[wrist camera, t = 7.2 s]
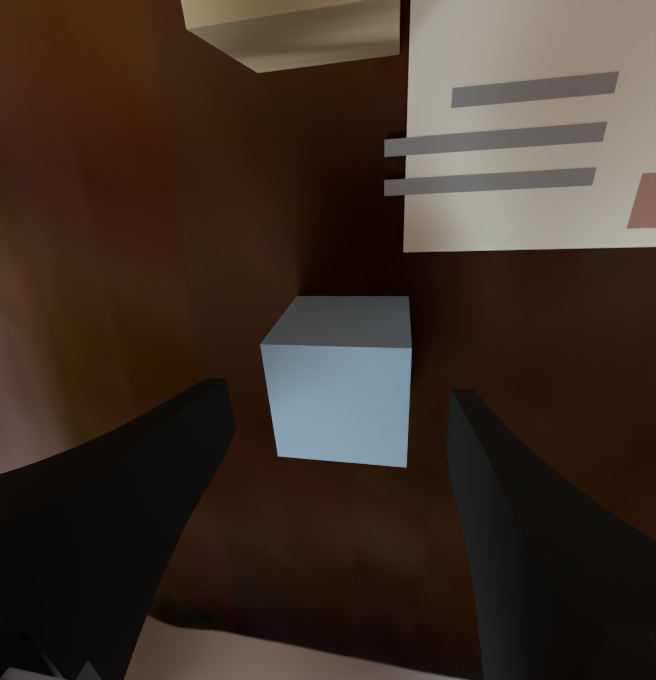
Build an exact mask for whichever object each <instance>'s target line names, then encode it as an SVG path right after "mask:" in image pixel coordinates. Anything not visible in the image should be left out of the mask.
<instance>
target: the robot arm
mask: <svg viewBox="0 0 656 680" xmlns="http://www.w3.org/2000/svg"><path fill="white" fill-rule="evenodd" d="M235 430H236V425H235V421H234V416H233V411H232V407H231V402H230V398H229V393H228V389H227V384H226V379H212V378H208V379H206V380H204V381H202V382H200V383H198V384H196V385H194V386H192V387H191V388H189V389H187V390H185V391H184V392H182V393H180V394H178V395H177V396H175V397H173V398H171V399H170V400H168V401H166V402H165V403H163V404H161V405H159V406H158V407H156V408H154V409H152V410H151V411H149V412H147V413H145V414H143V415H141V416H139V417H137V418H136V419H134V420H132V421H130V422H128V423H126V424H124V425H123V426H121V427H119V428H117V429H115V430H113V431H111V432H108V433H106V434H104V435H102V436H100V437H98V438H95V439H93V440H91V441H89V442H86V443H84V444H82V445H80V446H77V447H75V448H72V449H70V450H67V451H64V452H62V453H59V454H57V455H54V456H51V457H49V458H46V459H44V460H41V461H38V462H36V463H33V464H30V465H27V466H24V467H21V468H18V469H15V470H12V471H9V472H6V473H2V474H0V680H124V677H125V674H126V672H127V669H128V666H129V663H130V660H131V657H132V654H133V652H134V649H135V646H136V643H137V640H138V637H139V635H140V632H141V629H142V627H143V624H144V622H145V619H146V617H147V614H148V611H149V609H150V606H151V604H152V601H153V598H154V596H155V593H156V591H157V589H158V586H159V584H160V581H161V579H162V577H163V574H164V572H165V570H166V567H167V565H168V562H169V560H170V558H171V556H172V553H173V551H174V549H175V547H176V545H177V542H178V540H179V538H180V536H181V534H182V531H183V529H184V527H185V525H186V523H187V522H188V520H189V518H190V516H191V514H192V512H193V511H194V509H195V507H196V505H197V504H198V502H199V500H200V498H201V497H202V495H203V493H204V492H205V490H206V488H207V486H208V485H209V483H210V481H211V479H212V478H213V476H214V474H215V473H216V471H217V469H218V467H219V465H220V464H221V462H222V460H223V458H224V456H225V455H226V452H227V450H228V448H229V445H230V443H231V440H232V438H233V435H234V432H235ZM446 446H447V456H448V465H449V473H450V478H451V482H452V487H453V491H454V496H455V500H456V504H457V508H458V513H459V517H460V521H461V525H462V530H463V534H464V538H465V542H466V547H467V552H468V557H469V562H470V569H471V576H472V583H473V591H474V598H475V605H476V613H477V621H478V629H479V637H480V645H481V654H482V663H483V671H484V680H656V540H654V539H652V538H650V537H649V536H647V535H646V534H644V533H642V532H641V531H639V530H638V529H636V528H635V527H633V526H631V525H630V524H628V523H627V522H625V521H624V520H622V519H621V518H619V517H618V516H616V515H615V514H613V513H612V512H610V511H609V510H607V509H606V508H604V507H603V506H601V505H600V504H599V503H597V502H596V501H594V500H593V499H591V498H590V497H589V496H587V495H586V494H584V493H583V492H582V491H580V490H579V489H578V488H576V487H575V486H574V485H573V484H571V483H570V482H569V481H567V480H566V479H565V478H564V477H562V476H561V475H560V474H559V473H557V472H556V471H555V470H553V469H552V468H551V467H550V466H549V465H548V464H546V463H545V462H544V461H543V460H542V459H541V458H540V457H538V456H537V455H536V454H535V453H534V452H533V451H532V450H531V449H530V448H528V447H527V446H526V445H525V444H524V443H523V442H522V441H521V440H520V439H519V438H518V437H517V436H516V435H515V434H514V433H513V432H512V431H511V430H510V429H509V428H508V427H507V426H506V425H505V424H504V423H503V422H502V420H501V419H500V418H499V417H498V416H497V415H496V414H495V413H494V412H493V411H492V410H491V408H490V407H489V406H488V405H487V404H486V403H485V402H484V400H483V399H482V398H481V397H480V396H479V395H478V394H477V393H476V392H475V391H474V390H473V389H452V391H451V401H450V410H449V420H448V429H447V439H446Z"/></svg>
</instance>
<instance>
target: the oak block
mask: <svg viewBox="0 0 656 680" xmlns="http://www.w3.org/2000/svg"><path fill="white" fill-rule="evenodd" d="M181 3H182V8H183V14H184V19H185V24H186V29H187V30H189V31H190V32H192V33H193V34H195V35H197V36H198V37H200V38H202V39H203V40H205V41H206V42H208V43H210V44H211V45H213V46H215V47H216V48H218V49H219V50H221V51H223V52H224V53H226V54H228V55H229V56H231V57H232V58H234V59H236V60H237V61H239V62H241V63H242V64H244V65H246V66H247V67H249V68H250V69H252V70H254V71H255V72H257V73H262V72H269V71H277V70H285V69H292V68H300V67H308V66H316V65H323V64H331V63H339V62H346V61H354V60H362V59H370V58H377V57H385V56H393V55H399V54H400V0H181Z"/></svg>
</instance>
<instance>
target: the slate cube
mask: <svg viewBox="0 0 656 680" xmlns="http://www.w3.org/2000/svg"><path fill="white" fill-rule="evenodd" d="M260 346H261V352H262V358H263V365H264V371H265V377H266V383H267V389H268V396H269V402H270V408H271V414H272V421H273V427H274V433H275V439H276V446H277V452H278V456H281V457H293V458H304V459H316V460H327V461H339V462H350V463H362V464H373V465H385V466H396V467H406V465H407V443H408V421H409V399H410V377H411V355H412V344H411V327H410V311H409V296H297V297H296V298H295V299H294V301H293V302H292V303H291V305H290V306H289V307H288V309H287V310H286V311H285V312H284V314H283V315H282V316H281V318H280V319H279V320H278V322H277V323H276V324H275V326H274V327H273V328H272V330H271V331H270V332H269V334H268V335H267V336H266V338H265V339H264V340H263V341H262V343H261V344H260Z"/></svg>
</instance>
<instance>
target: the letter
mask: <svg viewBox="0 0 656 680" xmlns="http://www.w3.org/2000/svg"><path fill="white" fill-rule="evenodd" d="M391 156H406V176H405V179H395V180H384V196H395V195H405V210H404V245H403V252H441V251H486V250H531V249H576V248H620V247H656V0H411V3H410V38H409V72H408V107H407V138H399V139H387V140H385V147H384V157H391Z"/></svg>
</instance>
